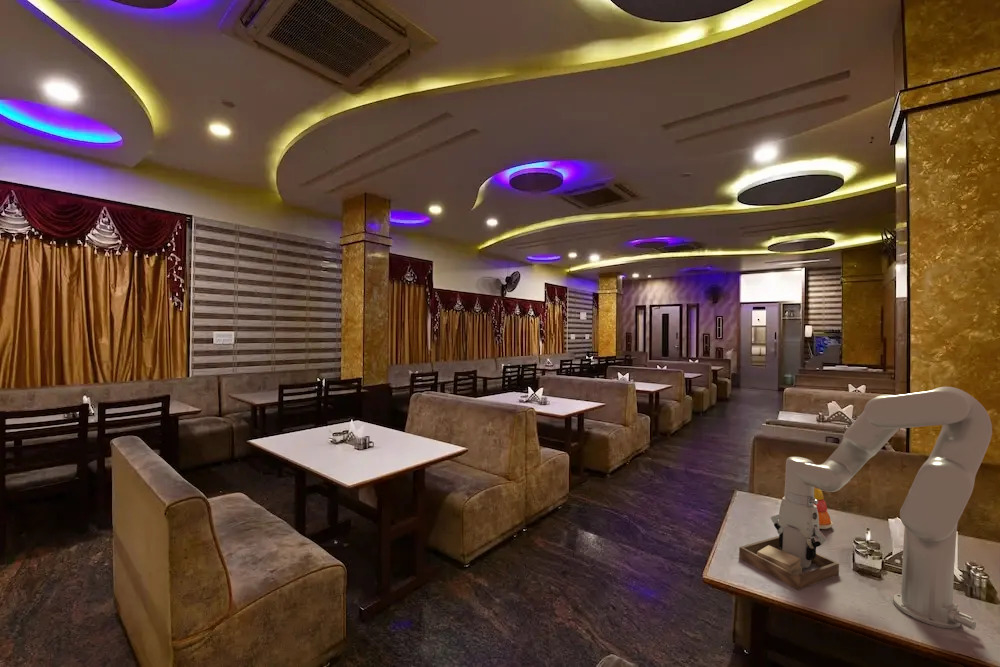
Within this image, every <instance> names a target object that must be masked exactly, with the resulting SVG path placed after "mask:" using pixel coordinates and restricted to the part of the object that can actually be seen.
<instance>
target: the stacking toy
mask: <svg viewBox="0 0 1000 667" xmlns="http://www.w3.org/2000/svg"><path fill="white" fill-rule="evenodd" d="M824 498H825V497H824V493H823V491H822V490H820V489H818V488H816V487H814V499H816V500H818V504H814V505H816V506H817V510H818V516H819V530H828V529H830V528H832V527H833V525H834V523H833V521H832V520H831V516H830V514H829V511H828V505H827V503H826V501H825V500H824Z"/></svg>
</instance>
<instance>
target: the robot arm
mask: <svg viewBox="0 0 1000 667" xmlns="http://www.w3.org/2000/svg"><path fill="white" fill-rule="evenodd" d="M932 426H941V430H940V432H939V434H938V437H937V439H936V442H935V444H934V446H933V449H932V451H931V453H930V454H929V457H928V458H927V459H926V461H924V463H923V464H922V465H921V467H920V468H919V469H918V471H917V473H916V475H915V478H914V480H913V482H912V484H911V486H910V488H909V490H908V493H907V494H906V497H905V499H904V502H903V504H902V506H901V508H900V510H899V517H900V518H899V519H900V521H901V523H902V525H903V527H904V530H903V531H904V532H903V548H902V564H901V565H902V568H901V569H902V571H901V587H900V588H901V589H900V590H901V592H900V593H896V594H894V595H893V596H892V602H893V604H894V606H896V607H897V608H898V609H899V610H900V611H901V612H902V613H904V614H906V615H908V616H910V617H911V618H913V619H916V620H917V621H920V622H922V623H925V624H928V625H932V626H934V627H938V628H942V629H958V628H959V627H961V625H962V626H964V627H966V628H968V629H970V630H972V631H973V630H975V629H976V626H977V625H976V624H977V623H976V621H974V618H973V616H970V615H969V614H966V613H964V612H960V610H959V609H958V604H957V603H955V602H953V601H954V600H953V599H954V582H955V581H954V579H955V576H954V575H955V561H956V548H957V547H956V544H957V542H956V541H957V533H958V532H957V530H958V522H959V520H960V518H961V517H962V515H963V513H964V510H965V508H966V506H967V504H968V502H969V501H970V498H971V496H972V494H973V491H974V488H975V483H976V482H975V480H976V476H977V473H978V470H979V469H980V466H981V464H982V462H983V460H984V457H985V454H986V452H987V451H988V447H989V445H990V442H991V440H992V435H993V424H992V421H991V418H990V415H989V413H988V411H987V410H986V408H985V407H984V406H983V404H981V402H979V401H978V400H977V399H976V397H973V396H972V395H971V394H969V393H968V392H966V391H964V390H962V389H961V388H957V387H954V386H940V387H936V388H933V389H931V390H927V391H919V392H912V393H905V394H896V395H895V394H880V395H878V396H875V397H873V398H871V399H869V400H868V401H867V402H866V404H865V406H864V409H863V411H862V412H861V413H860V414H859V415H858V416H857V417H856V419H855V420H854V421H853V423H851V424H850V426H849V427H848V428H847V429H846V430H845V432H844V433H843V436H842V440H841V442H840V444H839V445H838V447H836V449H835V450H834V451H833V452H832V454H830V456H829V457H828V458H827V459H826V460H825V462H823V463H821V464H815V463H814V461H812V460H811V459H808V458H806V457H801V456H789V457H787V459H785V478H784V482H785V483H784V496H783V497H782V499H781V502H780V504H779V512H778V514H776V515H773V516H770V519H771V521H772V523H773V526H774V527H775V528H774V529H775V530H776V532H777V534H778V536H779V543H780V545H779V546H780V547H781V548H782V547H783V528H784V527H787V525H788V526H790V527H792V528H794V529H798V530H800V533H801V534H802V535H803V536H804V537H805V538H806V539H807V540H806V541H807V543H808V545H809V547H807V552H806V559H807V560H809V561H810V560H813V559H814V558H815V557H816V553H817V548H819V547H820V546H822V545H824V544H825V543H827V542H828V538H827V537H826V536H825V535H824V534H823V532H822V531H821V529H819V516H818V510H817V506H816V505H814V504H818V500H816V499H814V487H816V488H818V489H820V490H821V491H822V492H827V493H834V492H838V491H839V490H841V489H842V488H843V487H844V486H845V485H846V484H848V483H849V482H850V481H851V479H852V478H854V477H855V475H856V474H857V473H858V472H859V471H860V470H861V469H862V468H863V467H864V465H865V464H867V462H868V461H869V460H870V459H871V458H873V457H874V456H876V455H877V453H879V452H880V450H881V449H882V448H883V447H884V446H885V445H886V444H887V443H888V441H889V440H890V439H891V438H892V437H893V436H894V435H895V434H896V433H897V432H898V431H899V430H900V429H908V428H909V429H910V428H920V427H921V428H922V427H932ZM816 538H818V540H817V539H816ZM781 548H780V549H781Z"/></svg>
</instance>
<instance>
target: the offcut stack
mask: <svg viewBox="0 0 1000 667" xmlns="http://www.w3.org/2000/svg"><path fill="white" fill-rule="evenodd" d="M757 555H759V556H760V557H762V558H764V559H766V560H768V561H770V562H772V563H774V564H776V565H778V566H780V567H782V568H784V569H785V570H787V571H789V572H791V573H793V574H795V575H797V576H798V575H801V574H803V568H802V567H801V566H800V564H801V558H799V557H796V556H794V555H791V554H789V553H786V552H784V551H782V549H780V548H774V547H772V546H769V545H768V546H766V547H764V548H763V549H761V550H759V551H758V552H757Z"/></svg>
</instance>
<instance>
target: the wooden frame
mask: <svg viewBox="0 0 1000 667" xmlns="http://www.w3.org/2000/svg"><path fill="white" fill-rule="evenodd" d="M768 545H769V546H772V547H774V548H777V549H780V550H782V548H783V547H782V548H781V547H780V546H779V545H780V543H779V535H778V536H775V537H774V536H773V537H770V538H767V539H764V540H760V541H755V542H752V543H749V544H746V545H742V546H739V549H738V550H739V551H738V558H739V559H741V560H743V561H745V562H746V563H748V564H749V565H752V566H753V567H755V568H757V569H759V570H760V571H762V572H764V573H767V574H768V575H770V576H772V577H773V578H775V579H778V580H779V581H781V582H782V583H785V584H786V585H788V586H790V587H791V588H793V587H794V589H795V590H797V591H799V590H802V589H805V588H807V587H811V586H812V585H815V584H818V583H820V582H823V581H826V580H829V579H831V578H833V577H837V576H839V575H840V563H839V562H837V561H834V560H832V559H830V558H828V557H826V556H824V555H822V554H820V553H817V552H816V557H815V558H814V559H813V560H811V565H814V566H816V567H818V568H816V569H812V570H810V571H807V572H804V573H802V574H801V575H798V576H797V575H795V574H793V573H791V572H789V571H787V570H785V569H784V568H782V567H780V566H778V565H776V564H774V563H772V562H770V561H768V560H766V559H764V558H762V557H760V556H759V555H757V552H758V551H759V550H761V549H763V548H764V547H766V546H768Z"/></svg>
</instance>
